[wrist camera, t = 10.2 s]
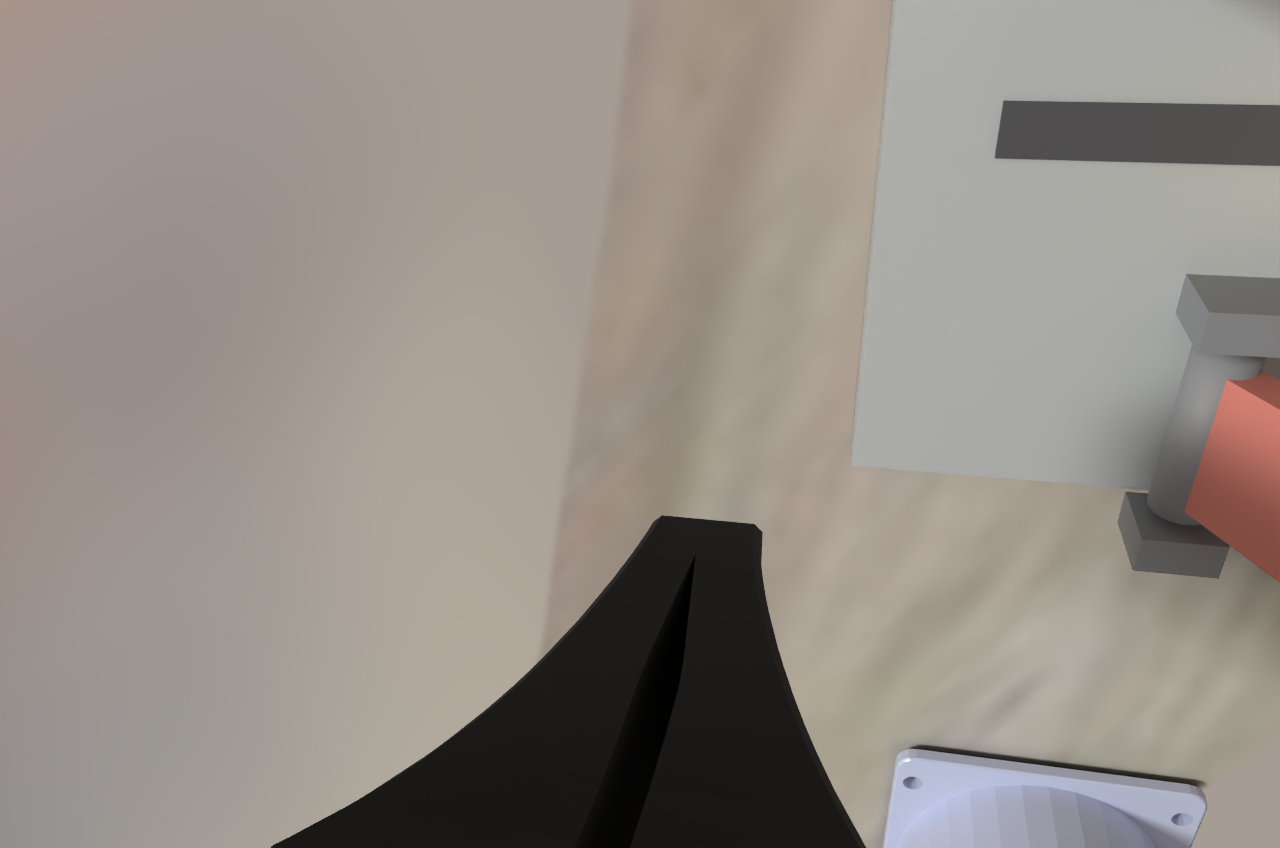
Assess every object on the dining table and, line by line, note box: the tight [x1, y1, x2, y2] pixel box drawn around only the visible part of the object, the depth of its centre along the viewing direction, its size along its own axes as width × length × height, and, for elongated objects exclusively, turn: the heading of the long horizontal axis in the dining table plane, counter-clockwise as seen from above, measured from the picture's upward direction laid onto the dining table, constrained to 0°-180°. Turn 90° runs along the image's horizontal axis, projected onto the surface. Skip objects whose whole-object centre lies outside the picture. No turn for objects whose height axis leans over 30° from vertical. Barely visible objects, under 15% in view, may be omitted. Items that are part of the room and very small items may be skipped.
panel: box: [852, 0, 1280, 578], centre depth 18 cm, size 15×11×3 cm
